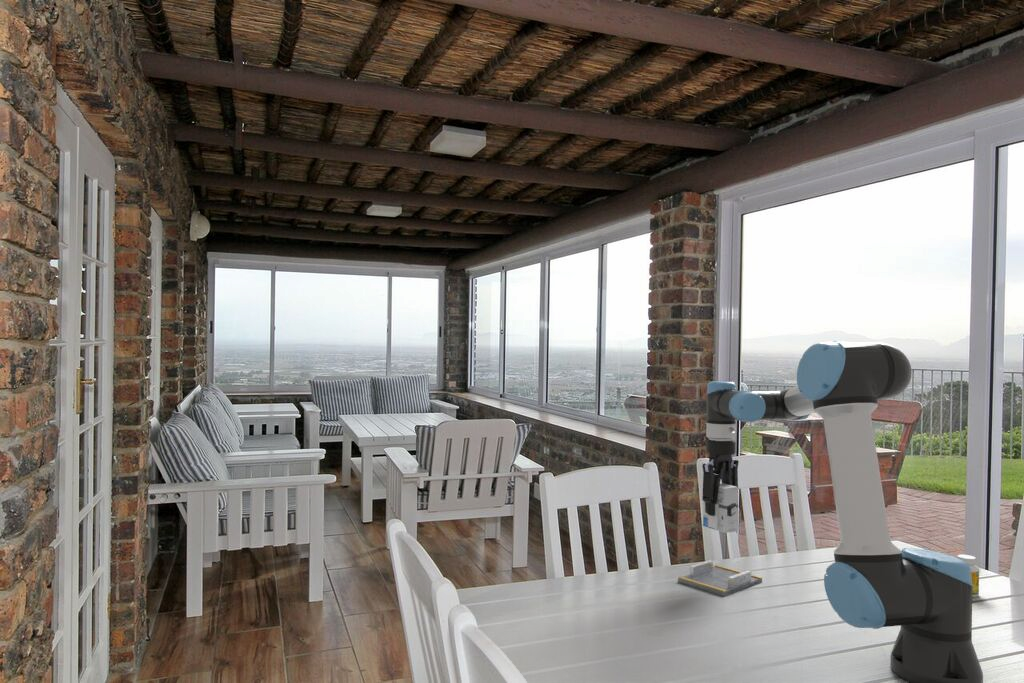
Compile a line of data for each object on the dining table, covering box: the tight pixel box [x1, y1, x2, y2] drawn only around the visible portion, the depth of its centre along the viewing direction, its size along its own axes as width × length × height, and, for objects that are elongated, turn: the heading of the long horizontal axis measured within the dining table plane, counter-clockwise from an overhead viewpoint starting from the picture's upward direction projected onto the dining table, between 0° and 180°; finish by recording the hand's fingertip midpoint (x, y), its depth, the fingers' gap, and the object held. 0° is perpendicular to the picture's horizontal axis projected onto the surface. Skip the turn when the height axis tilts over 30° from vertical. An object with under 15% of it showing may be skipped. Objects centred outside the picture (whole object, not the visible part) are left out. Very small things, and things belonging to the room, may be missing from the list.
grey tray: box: [677, 559, 763, 597], centre depth 187 cm, size 18×14×4 cm
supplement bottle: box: [956, 554, 980, 598], centre depth 179 cm, size 5×5×10 cm
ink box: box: [702, 481, 739, 534], centre depth 187 cm, size 8×5×12 cm, turn 25°
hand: (720, 525), depth 187 cm, fingers closed on ink box, 6 cm apart
